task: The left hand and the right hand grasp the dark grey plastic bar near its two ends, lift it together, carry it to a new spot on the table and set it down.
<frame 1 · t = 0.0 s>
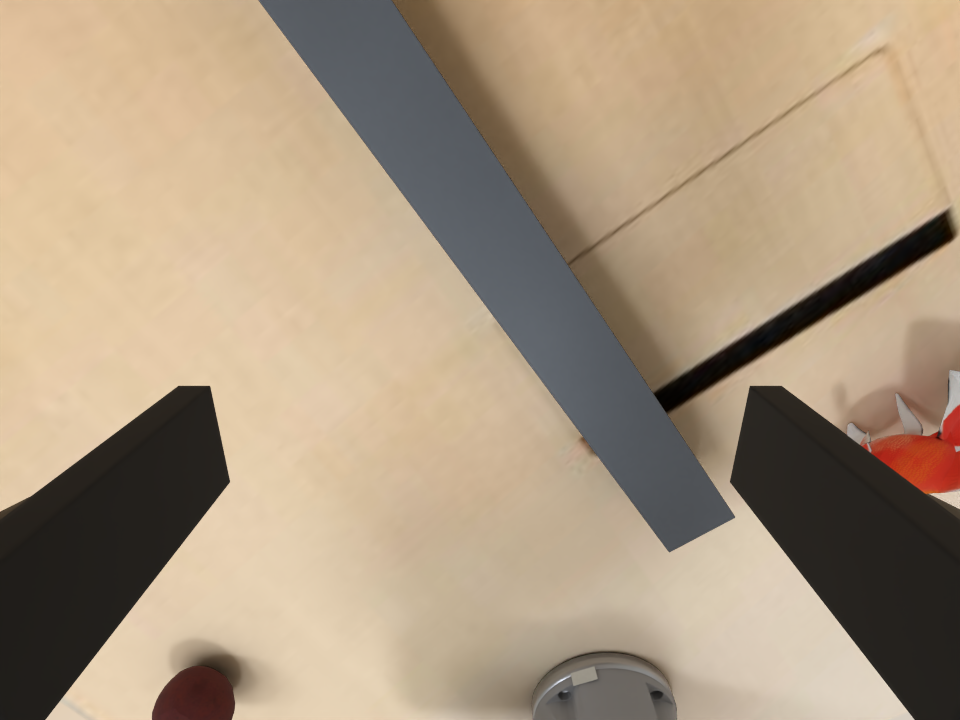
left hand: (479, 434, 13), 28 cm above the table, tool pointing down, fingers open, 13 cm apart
fish: (896, 407, 44), on the table
dark red ball: (212, 674, 55), on the table
bar: (472, 197, 37), on the table
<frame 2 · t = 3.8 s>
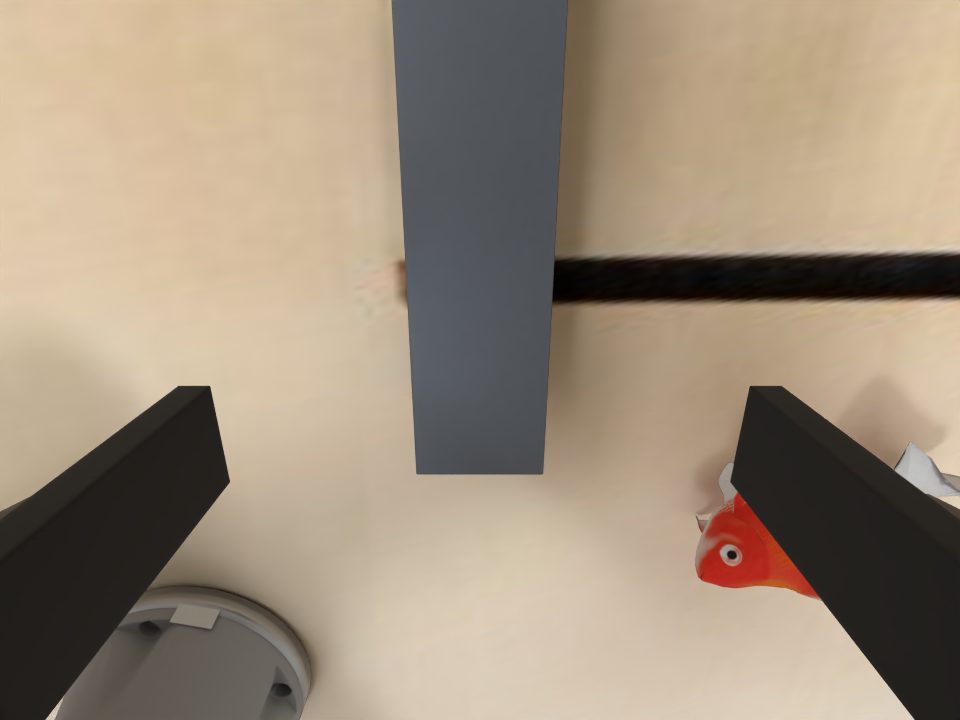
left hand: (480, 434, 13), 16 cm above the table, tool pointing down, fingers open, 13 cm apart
fish: (789, 475, 32), on the table
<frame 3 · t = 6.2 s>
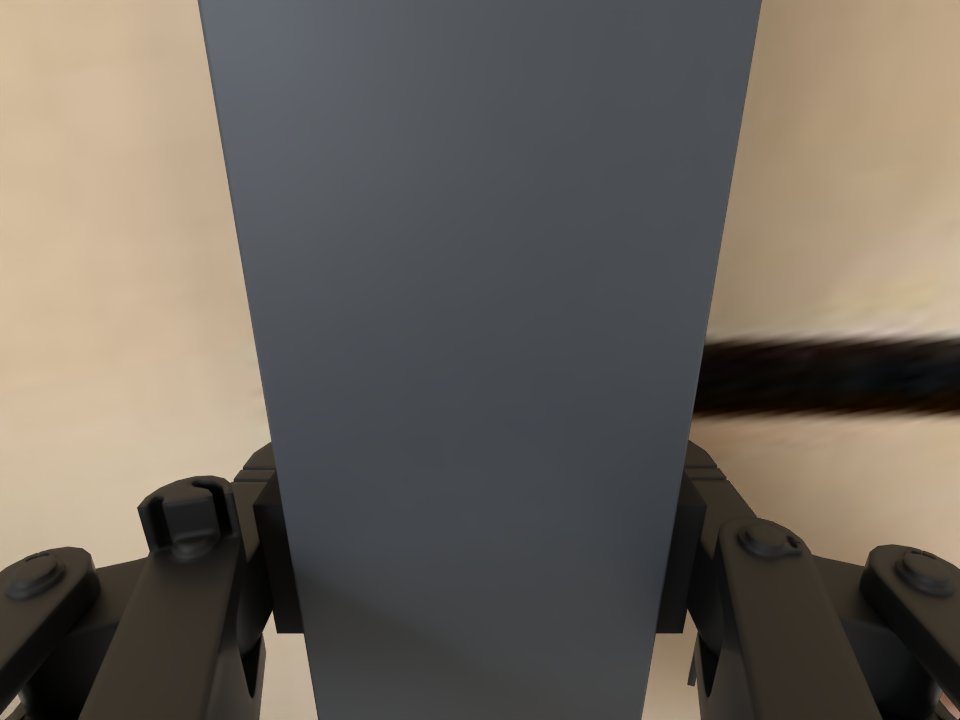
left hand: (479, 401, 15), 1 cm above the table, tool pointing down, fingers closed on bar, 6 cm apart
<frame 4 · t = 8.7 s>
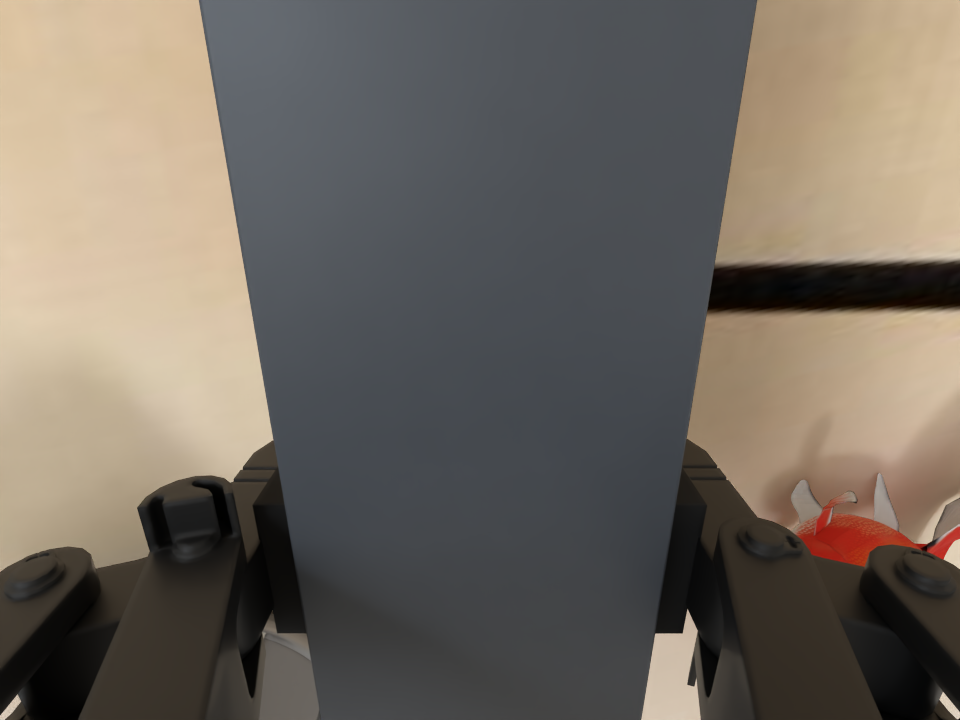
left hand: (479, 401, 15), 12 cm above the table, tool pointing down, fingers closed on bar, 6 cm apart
fish: (863, 492, 30), on the table
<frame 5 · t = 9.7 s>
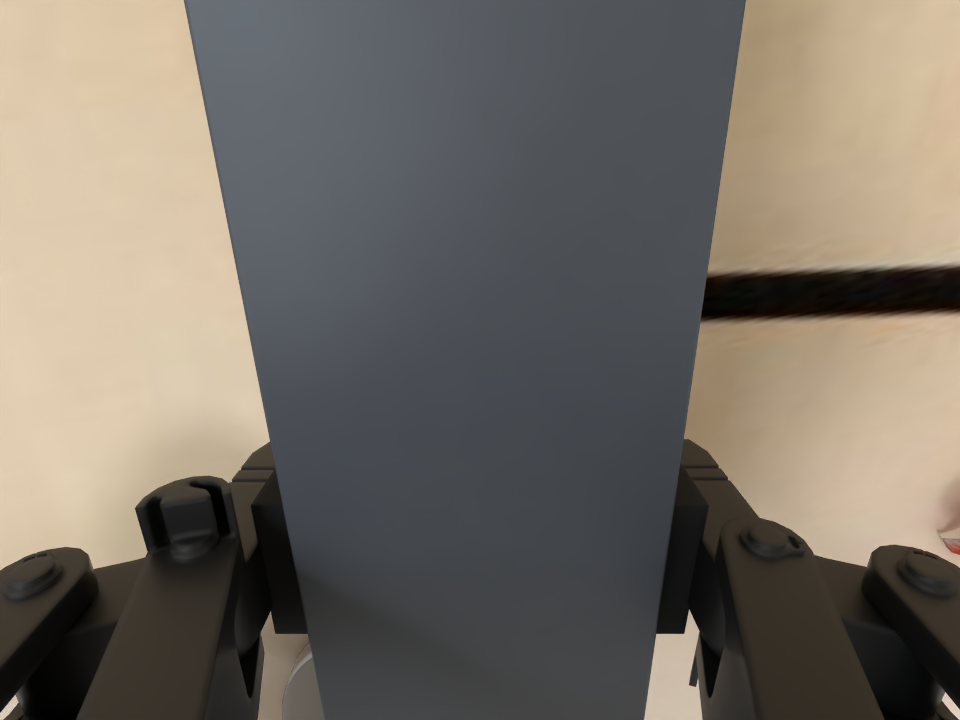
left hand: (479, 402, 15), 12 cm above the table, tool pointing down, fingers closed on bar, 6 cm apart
when the left hand's fingers open (2 cm above the table, at t = 13.4 s): bar drops 1 cm, on the table.
when the right hand's fingers open (4 cm above the table, at t = 13.6 s): bar stays where it is, on the table.
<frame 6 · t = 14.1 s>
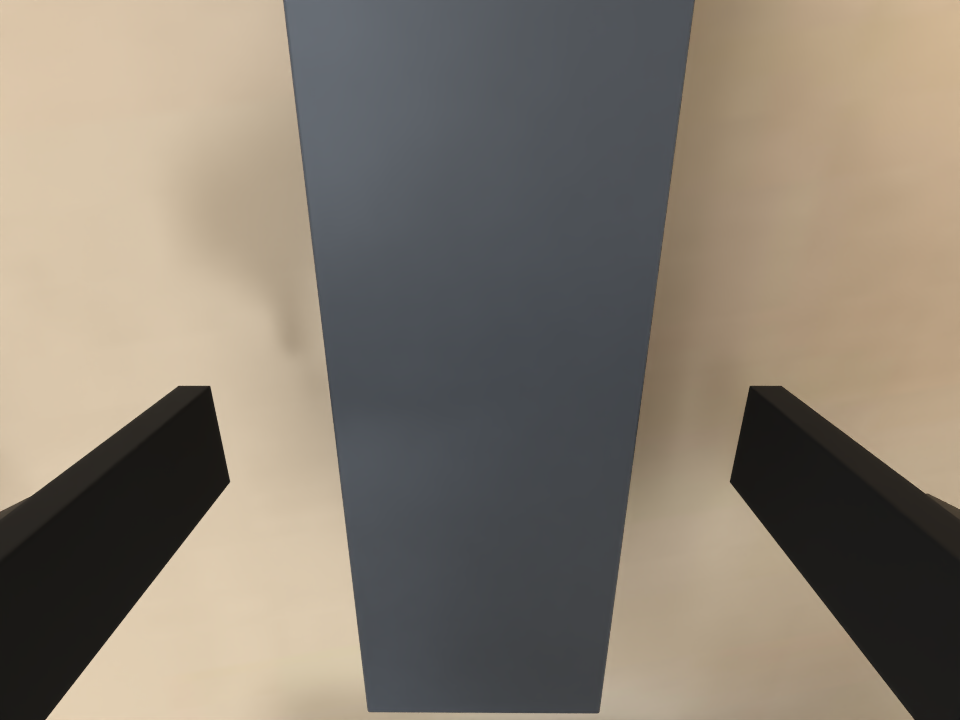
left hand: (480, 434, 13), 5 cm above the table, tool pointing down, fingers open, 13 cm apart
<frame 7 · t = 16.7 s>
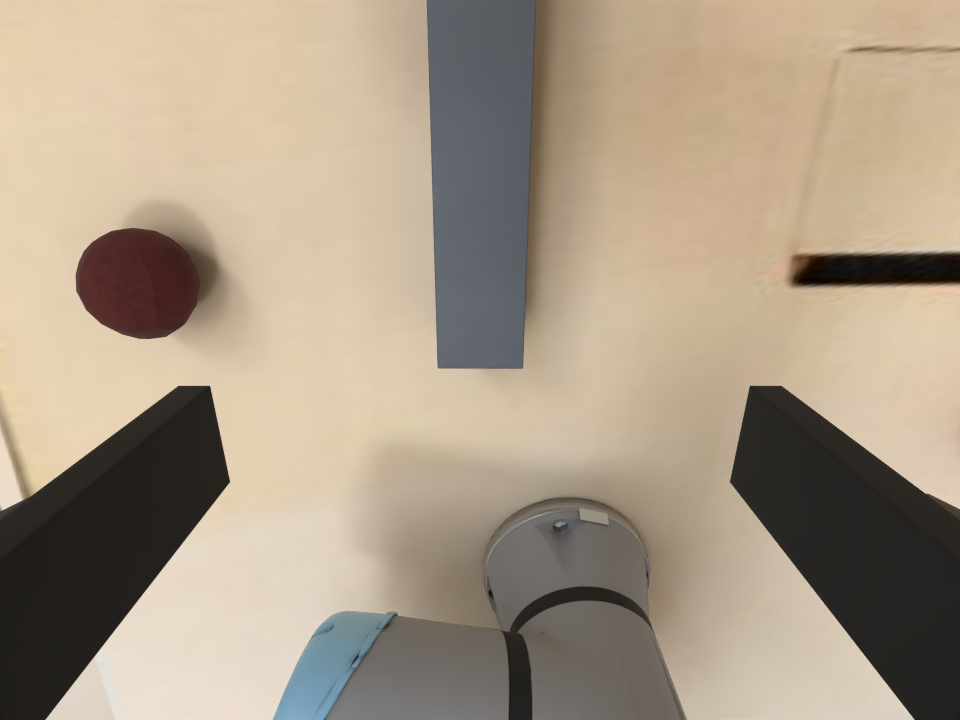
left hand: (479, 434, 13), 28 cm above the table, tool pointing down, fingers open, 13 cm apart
dark red ball: (170, 274, 39), on the table
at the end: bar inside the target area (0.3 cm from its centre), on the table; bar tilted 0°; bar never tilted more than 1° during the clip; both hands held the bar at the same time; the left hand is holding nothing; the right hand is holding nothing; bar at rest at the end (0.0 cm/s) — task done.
